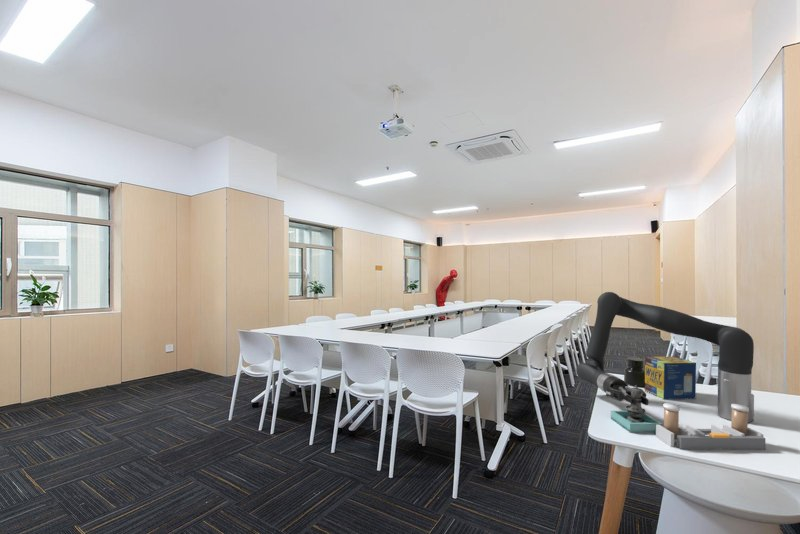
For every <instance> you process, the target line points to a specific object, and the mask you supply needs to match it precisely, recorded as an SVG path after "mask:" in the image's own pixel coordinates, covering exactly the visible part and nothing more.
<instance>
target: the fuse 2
mask: <svg viewBox="0 0 800 534" xmlns="http://www.w3.org/2000/svg"><path fill="white" fill-rule="evenodd" d="M731 408H732V420H730V421H731V423H730V425H731V426H730V427H731V428H733V429H735V430H737V431H739V432H741V433H743V434H745V436H747V427H748V423H749V422H748V412H749V407H747V406H744V405H740V404H731ZM748 428H749V427H748Z"/></svg>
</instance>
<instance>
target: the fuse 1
mask: <svg viewBox="0 0 800 534" xmlns="http://www.w3.org/2000/svg"><path fill="white" fill-rule="evenodd" d="M662 408H663V427H664V428H666V429H667V430H669V431H671V432H672V433H674V444H677V435H678V426H679V425H680V424H679V419H680V418H679V417H680V416H679V414H680V408H681V407H680V406H679V405H677V404H673V403H670V402H669V403H668V402H667V403H666V402H665V403H663V405H662Z"/></svg>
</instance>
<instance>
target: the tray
mask: <svg viewBox="0 0 800 534" xmlns="http://www.w3.org/2000/svg"><path fill="white" fill-rule="evenodd" d="M627 416H629V414H628V412H627V410H610V419H611V420H612V421H613V422H614V423H616V424H618V425H619V426H620V427H622V429H624V430H626V431H627V432H629V433H634V434H635V433H636V434H637V433H640V434H641V433H642V434H643V433H645V434H646V433H650V434H656V433H655V430H656V425H661V426H662V427H664V423H662V422H660V421H659V420H658V419H656V418H653V417H652V416H650V415H649V414H647V413H645V414H644V416H643V417H641V418H642V419H644V422H634V421H631V420H629V419H627Z"/></svg>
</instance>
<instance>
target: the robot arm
mask: <svg viewBox="0 0 800 534" xmlns="http://www.w3.org/2000/svg"><path fill="white" fill-rule="evenodd" d="M596 310H597V311H596V317H595V321H594V325H593V329H592V332H591V335H590V338H589V341H588V344H587V347H586V351H585V356H586V358H588V359H590V360H592V361H593V364H590V363H586V362H581V363H579V364H578V365H577V366H576V369H575V371H576V375H577V376H578V378H580V380H582V381H585V382H587V383H590V384H592V385H594V386H595V387H597V388H599V389H600V390H601V391H603V392H604V394H605V396H607V397H609V398H612V399H614V400H617V401H620V402H621V401H624V402H628V403H629V404H630V403H631V404H633V405H636V399H635V398H634V397H632V396H631V389H632V388H633V387H630V386H629V385H628V384H627V383H626V382H625V381H624V380H623V379H621V378H620V377H618V376H615V375H614V374H611V373H609V372H606V370H605V361H604V360H605V356H606V353H607V348H608V343H609V340H610V333H611V329H612V325H613V322H614V320H615V318H616V316H619V317H624V318H627V319H631V320H634V321H636V322H639V323H641V324H643V325H645V326H649V327H652V328H653V329H656V330H659V331H663V332H665V333H669V334H673V335H676V336H677V335H678V336H683V337H690V338H695V339H699V340H703V341H706V342H708V343H711V344H714V345H717V346H719V349H718V350H719V352H718V353H719V354H718V362H717V412H716V413H717V416H719V417H721V418H724V419H726V420H729V421H732V408H731V404H740V405H744V406H747V407H749V412H748V423H750V422H753V421H754V420H755V395H754V394H753V393H752V376H753V375H752V371H753V366H754V351H755V350H754V349H755V347H754V346H755V345H754V339H753V337H752V336H751V335H750V334H749V333H748V332H747V331H746V330H744V329H742V328H739V327H736V326H730V325H725V324H719V323H715V322H710V321H706V320H704V319H701V318H698V317H695V316H693V315H689V314H686V313H683V312H681V311H678V310H674V309H670V308H666V307H663V306H658V305H653V304H647V303H645V304H644V303H639V302H635V301H632V300H630V299H627V298H623V297H621V296H620V295H618V294H617V293H616V292H613V291H605V292H603V293H601V294H600V295H599V296H598V299H597V309H596ZM639 389H640V390H641V399H642V400H641V404H643V405H644V406H649V402H650V401H649V399H648V398H647V392H646V391H645V390H644V389H642V388H639Z"/></svg>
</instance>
